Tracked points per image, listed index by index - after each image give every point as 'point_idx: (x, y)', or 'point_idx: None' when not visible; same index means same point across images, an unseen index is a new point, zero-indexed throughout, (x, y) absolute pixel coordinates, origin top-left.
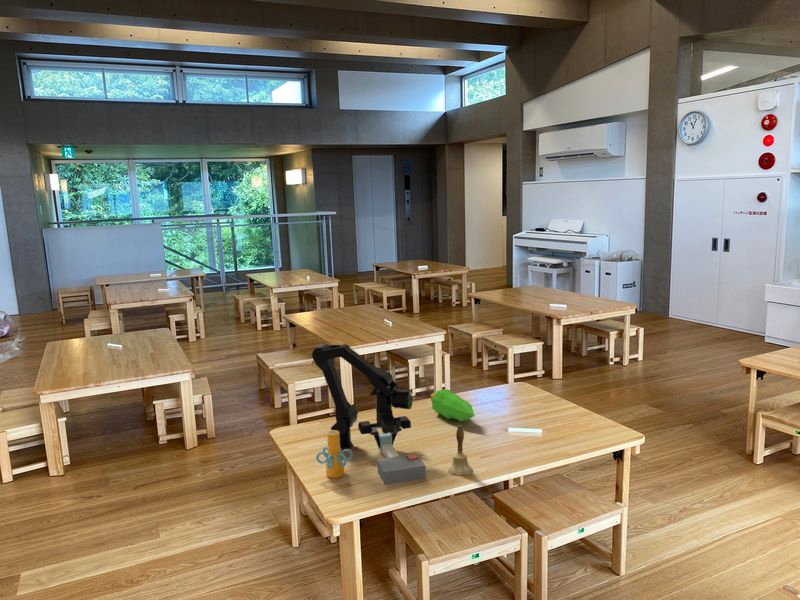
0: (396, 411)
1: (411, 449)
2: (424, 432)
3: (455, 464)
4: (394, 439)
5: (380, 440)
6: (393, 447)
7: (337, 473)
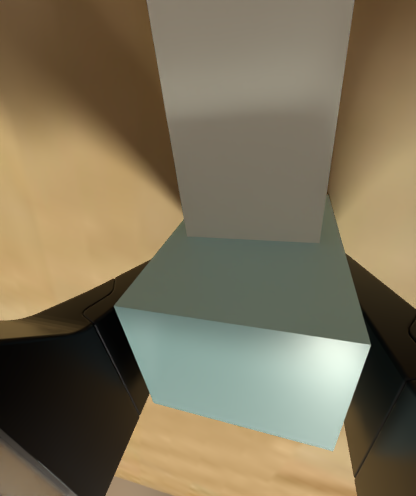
0: (150, 474)
1: (53, 175)
2: None
3: None
4: (129, 272)
5: (352, 287)
6: (161, 49)
7: None
